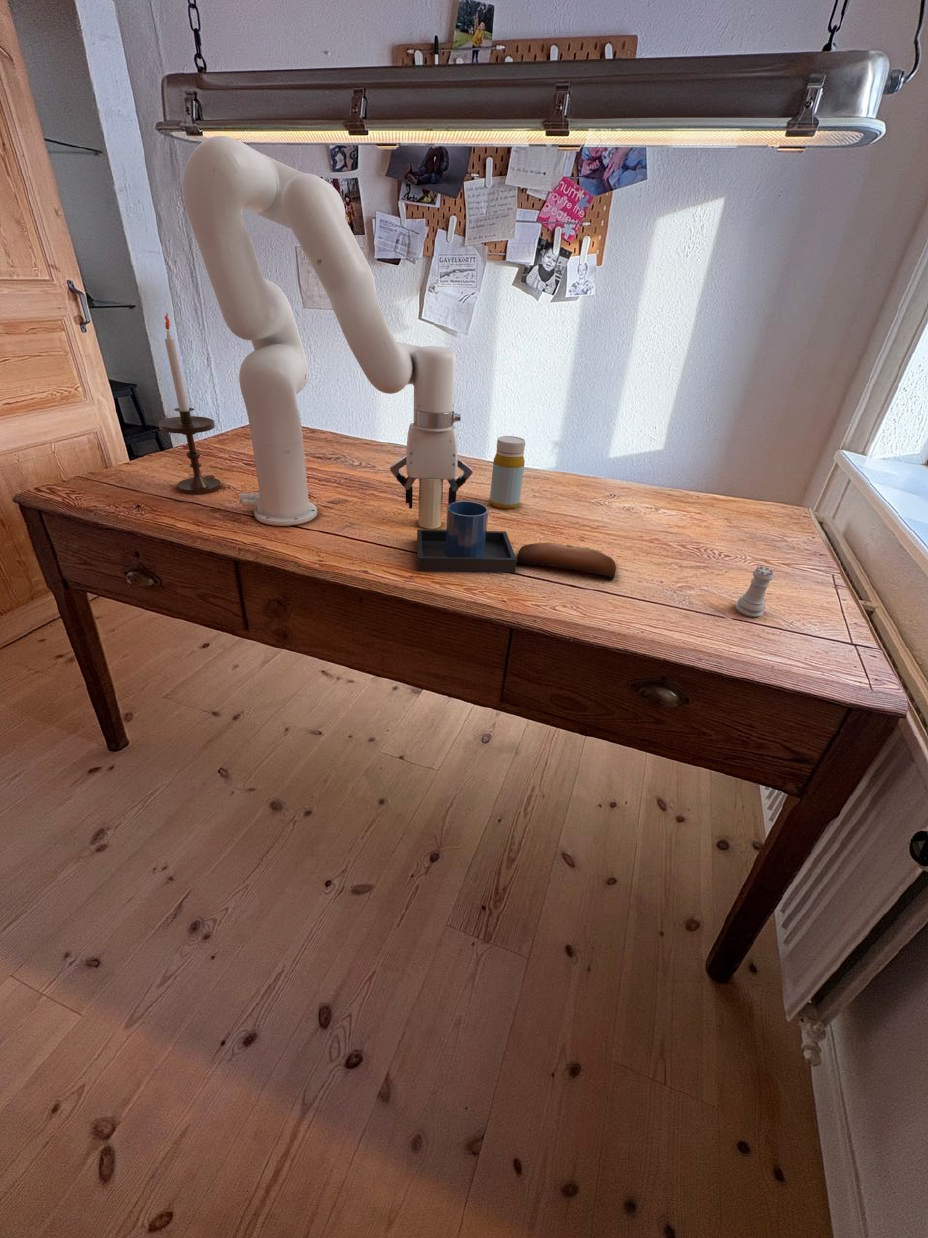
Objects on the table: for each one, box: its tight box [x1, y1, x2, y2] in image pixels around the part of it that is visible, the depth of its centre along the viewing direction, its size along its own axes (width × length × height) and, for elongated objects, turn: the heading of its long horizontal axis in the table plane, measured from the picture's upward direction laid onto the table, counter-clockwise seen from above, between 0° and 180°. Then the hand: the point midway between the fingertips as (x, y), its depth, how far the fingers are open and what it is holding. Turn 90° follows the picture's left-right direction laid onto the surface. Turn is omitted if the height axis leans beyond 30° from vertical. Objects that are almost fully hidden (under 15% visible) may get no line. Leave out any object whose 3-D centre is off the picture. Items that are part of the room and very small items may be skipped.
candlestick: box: [158, 312, 222, 495], centre depth 115 cm, size 11×11×35 cm
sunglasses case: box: [516, 542, 617, 580], centre depth 102 cm, size 18×7×7 cm
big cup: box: [445, 500, 489, 557], centre depth 101 cm, size 7×7×9 cm
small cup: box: [417, 478, 444, 530], centre depth 113 cm, size 5×5×10 cm
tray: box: [416, 528, 517, 573], centre depth 103 cm, size 18×13×3 cm
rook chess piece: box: [735, 565, 775, 618], centre depth 91 cm, size 4×4×8 cm
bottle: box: [489, 435, 526, 510], centre depth 124 cm, size 7×7×15 cm
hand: (430, 506), depth 113 cm, fingers open, 7 cm apart
